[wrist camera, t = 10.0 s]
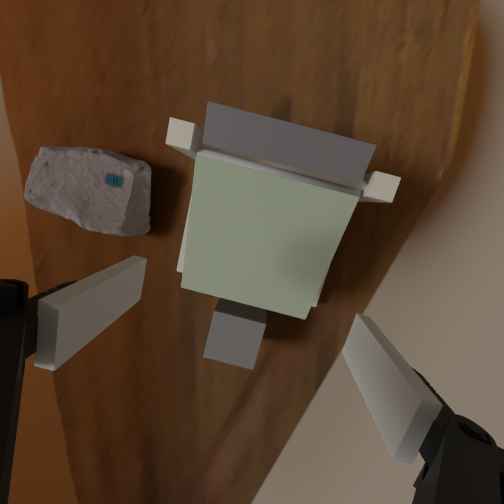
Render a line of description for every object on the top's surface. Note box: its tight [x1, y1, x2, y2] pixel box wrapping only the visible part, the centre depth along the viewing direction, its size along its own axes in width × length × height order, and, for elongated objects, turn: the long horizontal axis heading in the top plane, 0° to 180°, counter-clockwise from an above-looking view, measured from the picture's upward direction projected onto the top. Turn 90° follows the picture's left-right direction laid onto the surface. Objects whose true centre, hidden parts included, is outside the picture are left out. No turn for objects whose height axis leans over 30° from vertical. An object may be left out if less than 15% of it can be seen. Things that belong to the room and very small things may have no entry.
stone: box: [24, 146, 151, 237], centre depth 30 cm, size 13×10×6 cm
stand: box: [166, 117, 401, 307], centre depth 27 cm, size 18×19×12 cm
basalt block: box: [203, 298, 266, 370], centre depth 32 cm, size 6×6×7 cm
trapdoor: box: [181, 101, 377, 319], centre depth 24 cm, size 18×14×3 cm
